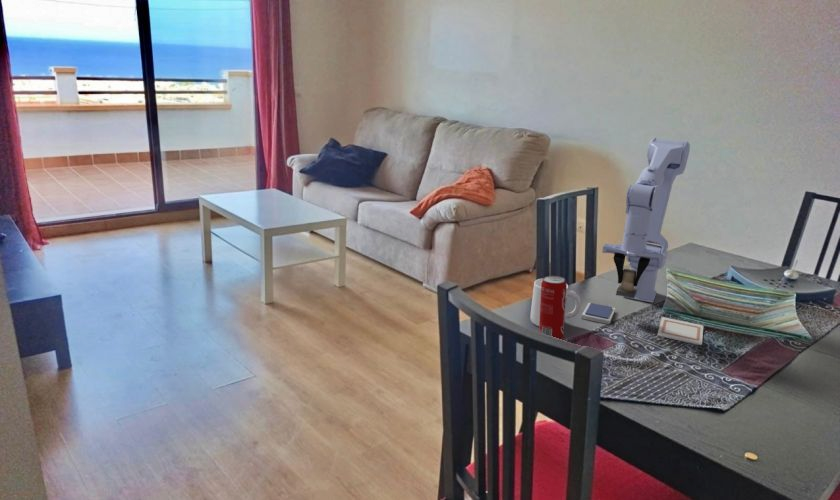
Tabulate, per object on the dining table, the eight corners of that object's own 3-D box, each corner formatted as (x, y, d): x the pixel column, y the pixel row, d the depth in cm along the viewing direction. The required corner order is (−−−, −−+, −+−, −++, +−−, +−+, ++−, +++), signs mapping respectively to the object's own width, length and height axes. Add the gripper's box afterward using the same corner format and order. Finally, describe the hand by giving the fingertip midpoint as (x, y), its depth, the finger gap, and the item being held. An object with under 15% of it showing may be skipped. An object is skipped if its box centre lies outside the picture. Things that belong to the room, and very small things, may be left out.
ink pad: (588, 306, 163) (588, 301, 163) (614, 311, 161) (615, 306, 160) (581, 318, 156) (582, 313, 155) (609, 324, 153) (610, 319, 152)
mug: (576, 318, 156) (581, 280, 152) (580, 332, 148) (586, 293, 145) (528, 314, 157) (533, 276, 153) (531, 327, 149) (535, 289, 146)
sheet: (661, 317, 158) (661, 316, 158) (703, 326, 154) (703, 325, 154) (657, 335, 148) (657, 334, 148) (701, 345, 144) (702, 343, 144)
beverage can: (563, 345, 141) (571, 285, 136) (534, 341, 142) (541, 281, 137) (562, 334, 146) (570, 276, 142) (535, 330, 147) (542, 273, 143)
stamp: (618, 289, 158) (622, 267, 156) (636, 292, 156) (640, 270, 154) (616, 294, 154) (619, 271, 152) (634, 298, 152) (637, 275, 150)
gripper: (603, 231, 149) (596, 283, 154) (666, 241, 144) (656, 294, 148) (607, 225, 155) (600, 274, 160) (668, 234, 150) (658, 285, 154)
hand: (627, 283), depth 154 cm, fingers closed on stamp, 3 cm apart
